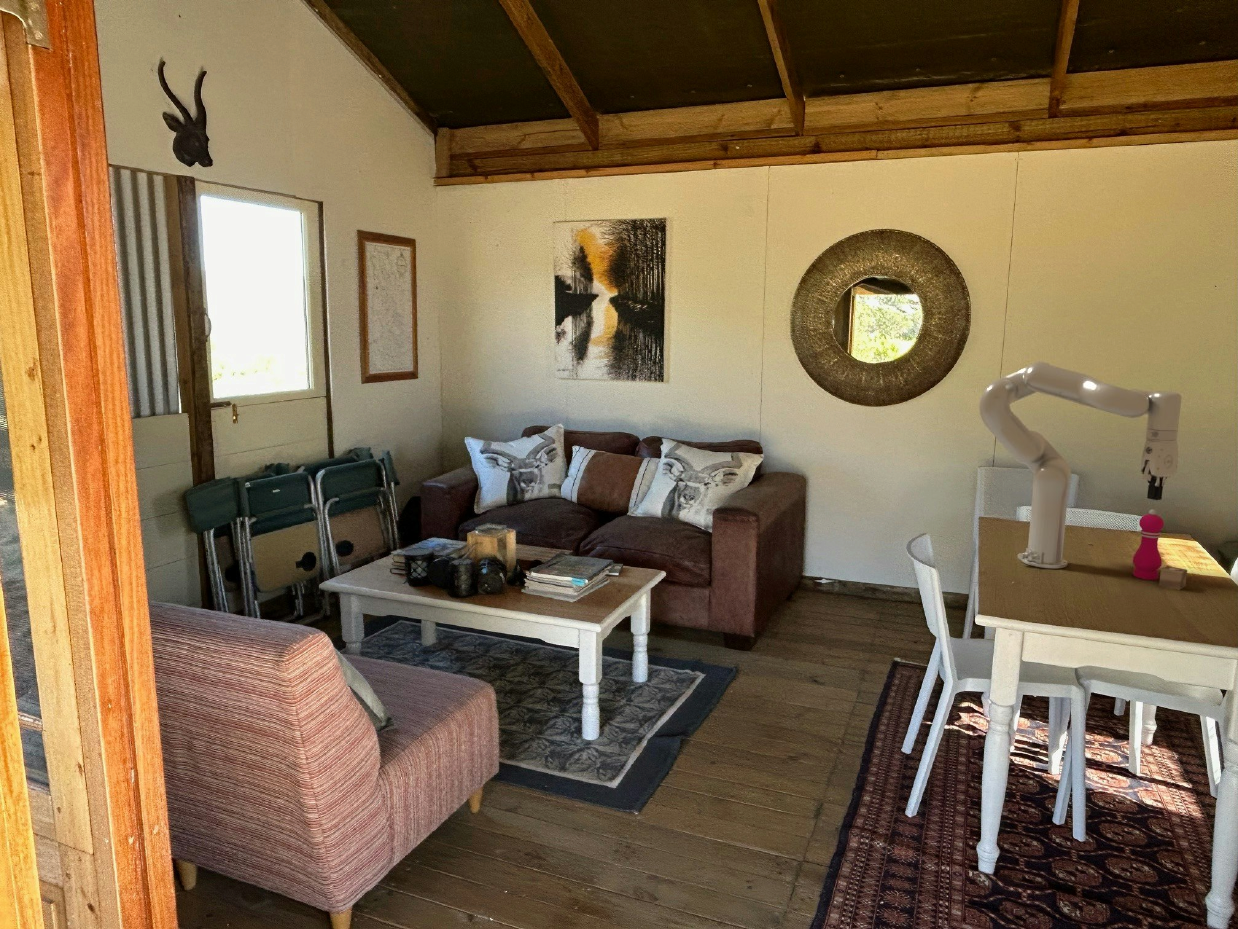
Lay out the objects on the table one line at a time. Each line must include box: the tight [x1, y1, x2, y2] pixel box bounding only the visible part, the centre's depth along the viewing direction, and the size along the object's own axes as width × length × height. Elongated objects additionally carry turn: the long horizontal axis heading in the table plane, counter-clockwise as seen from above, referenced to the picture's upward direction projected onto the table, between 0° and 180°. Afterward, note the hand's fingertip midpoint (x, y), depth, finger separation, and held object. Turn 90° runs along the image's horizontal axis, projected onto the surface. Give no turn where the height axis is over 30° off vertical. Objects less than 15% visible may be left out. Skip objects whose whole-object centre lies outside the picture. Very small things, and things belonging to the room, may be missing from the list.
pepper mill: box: [1132, 509, 1165, 581], centre depth 250 cm, size 7×7×20 cm
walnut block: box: [1158, 565, 1188, 591], centre depth 243 cm, size 5×5×5 cm
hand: (1154, 499), depth 248 cm, fingers closed
